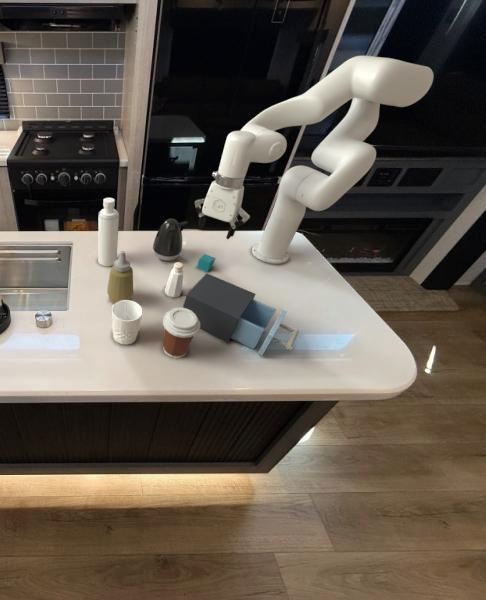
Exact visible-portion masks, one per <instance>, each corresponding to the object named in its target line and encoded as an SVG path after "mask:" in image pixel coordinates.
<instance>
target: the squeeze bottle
mask: <svg viewBox="0 0 486 600" xmlns="http://www.w3.org/2000/svg"><path fill="white" fill-rule="evenodd" d="M106 293H107V295H108V298H109V300H110V302H111V303H112V304H113V305H114V304H115V303H117V302H119V301H122V300H131V299H132V297H133V295H134V270H133V268H132V266H131V262H130V260H129V259H127V255H126V251H124V250H121V251H120V252H119V256H118V258H117V260H115V261H114V265H113V266H111V267H110V270H109V277H108V283H107V291H106Z"/></svg>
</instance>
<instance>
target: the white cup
mask: <svg viewBox="0 0 486 600" xmlns="http://www.w3.org/2000/svg"><path fill="white" fill-rule="evenodd" d="M142 316H143V308H142V306H141V305H140V304H139V303H137V301H135V300H131V299H130V300H122V301H119V302H117V303H115V304H113V305H112V307H111V326H112V327H111V329H112V338H113V339H114V341H115V342H116V343H118V344H120V345H126V346H127V345H131V344H133V343H135V341H136V340H137V337H138V333H139V330H140V326H141V322H142Z"/></svg>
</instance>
